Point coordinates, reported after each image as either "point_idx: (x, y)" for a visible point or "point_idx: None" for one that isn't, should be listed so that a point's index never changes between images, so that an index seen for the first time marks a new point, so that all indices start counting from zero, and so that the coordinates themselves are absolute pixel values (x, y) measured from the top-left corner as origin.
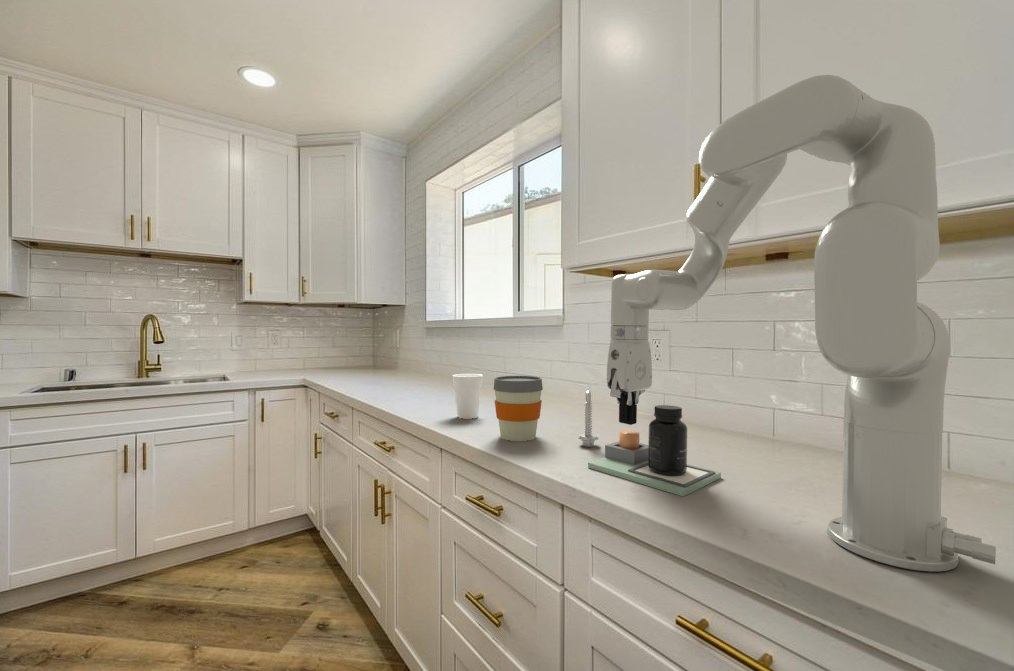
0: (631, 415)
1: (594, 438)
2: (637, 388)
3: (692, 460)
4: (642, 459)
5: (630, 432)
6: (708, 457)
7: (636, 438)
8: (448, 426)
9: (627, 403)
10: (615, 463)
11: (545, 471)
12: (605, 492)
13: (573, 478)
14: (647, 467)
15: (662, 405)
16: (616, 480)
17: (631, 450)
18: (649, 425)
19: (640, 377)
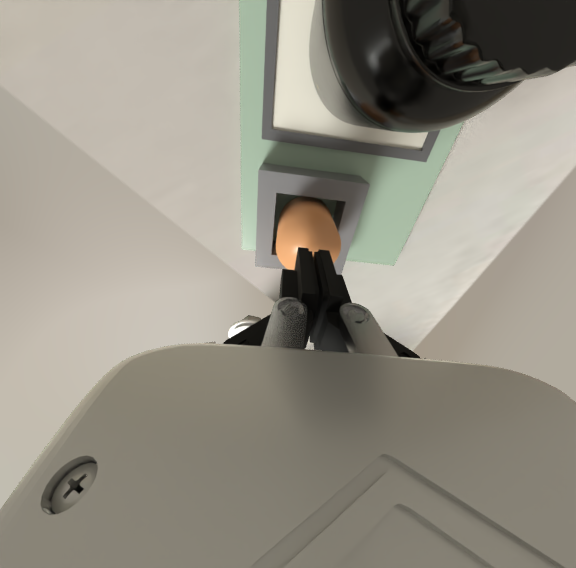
0: (332, 271)
1: (252, 324)
2: (402, 366)
3: (134, 61)
4: (321, 172)
5: (302, 247)
6: (39, 16)
7: (320, 213)
8: None
9: (367, 318)
10: (371, 219)
11: (446, 298)
12: (560, 145)
13: (472, 246)
14: (366, 130)
15: (493, 1)
16: (456, 169)
17: (352, 201)
18: (488, 107)
19: (386, 513)
